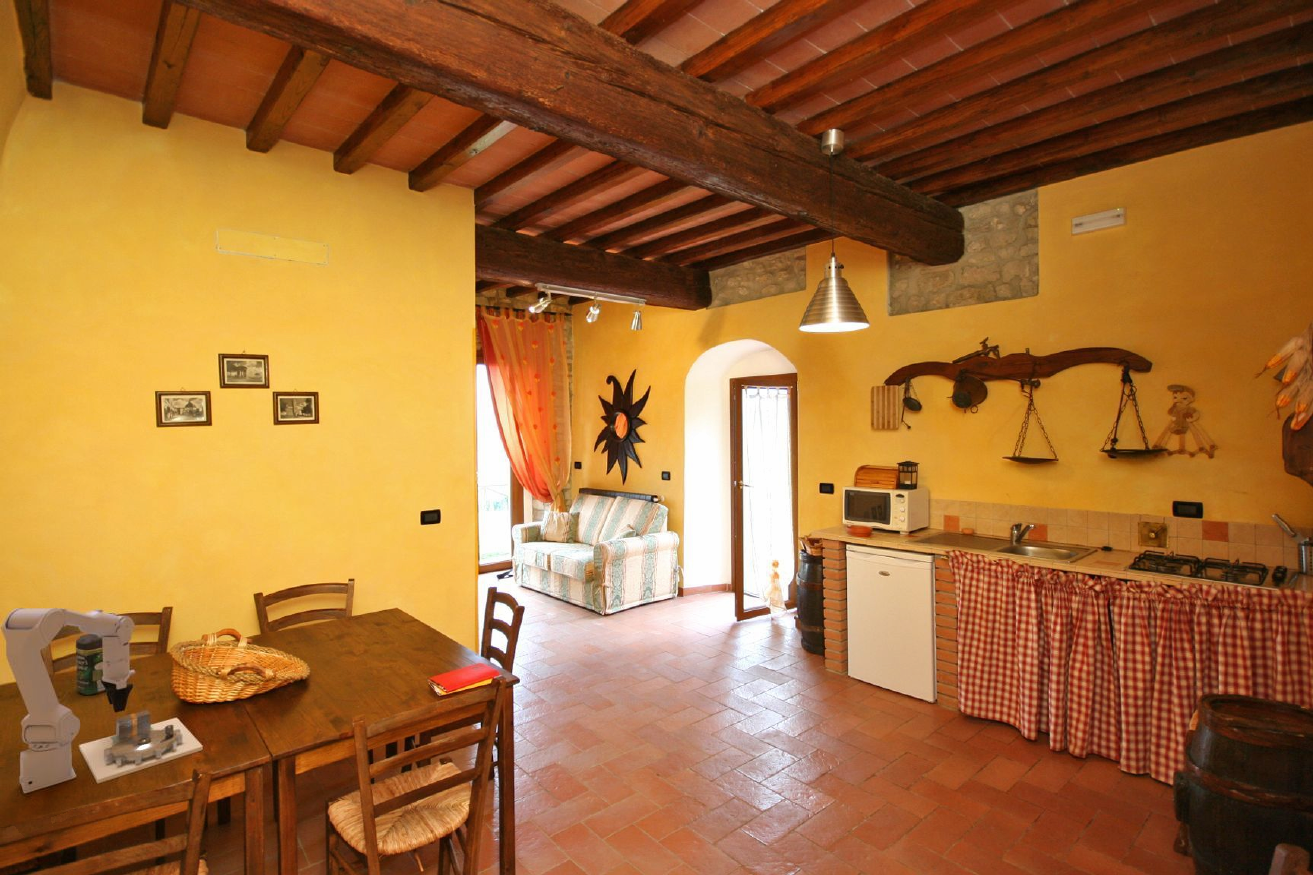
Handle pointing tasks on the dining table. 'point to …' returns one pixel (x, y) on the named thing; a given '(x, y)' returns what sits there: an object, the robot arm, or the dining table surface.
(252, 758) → the dining table surface
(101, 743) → the sprocket base
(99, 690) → the coffee jar
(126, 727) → the link block
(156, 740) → the sprocket
